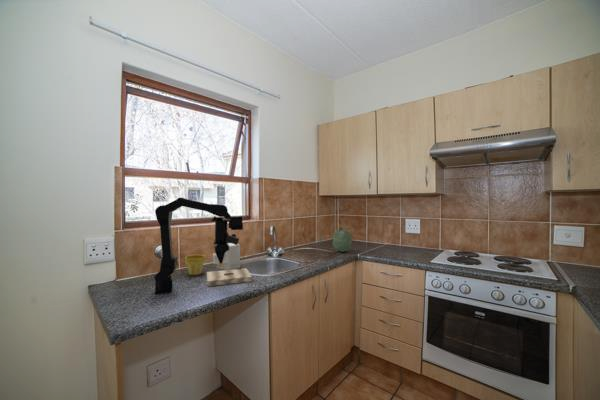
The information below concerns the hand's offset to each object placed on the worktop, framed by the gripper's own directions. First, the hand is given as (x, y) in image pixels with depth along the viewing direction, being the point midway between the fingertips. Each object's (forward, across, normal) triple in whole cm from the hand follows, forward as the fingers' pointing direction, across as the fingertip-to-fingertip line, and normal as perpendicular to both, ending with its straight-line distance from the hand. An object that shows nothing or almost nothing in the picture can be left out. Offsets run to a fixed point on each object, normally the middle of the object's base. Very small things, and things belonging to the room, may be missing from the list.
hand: (220, 262), depth 118 cm
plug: (+2, 0, 0) cm, 2 cm away
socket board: (+12, +11, -5) cm, 17 cm away
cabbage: (+13, +54, -101) cm, 115 cm away
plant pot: (+12, +27, +12) cm, 32 cm away
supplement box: (+12, +31, -7) cm, 34 cm away
